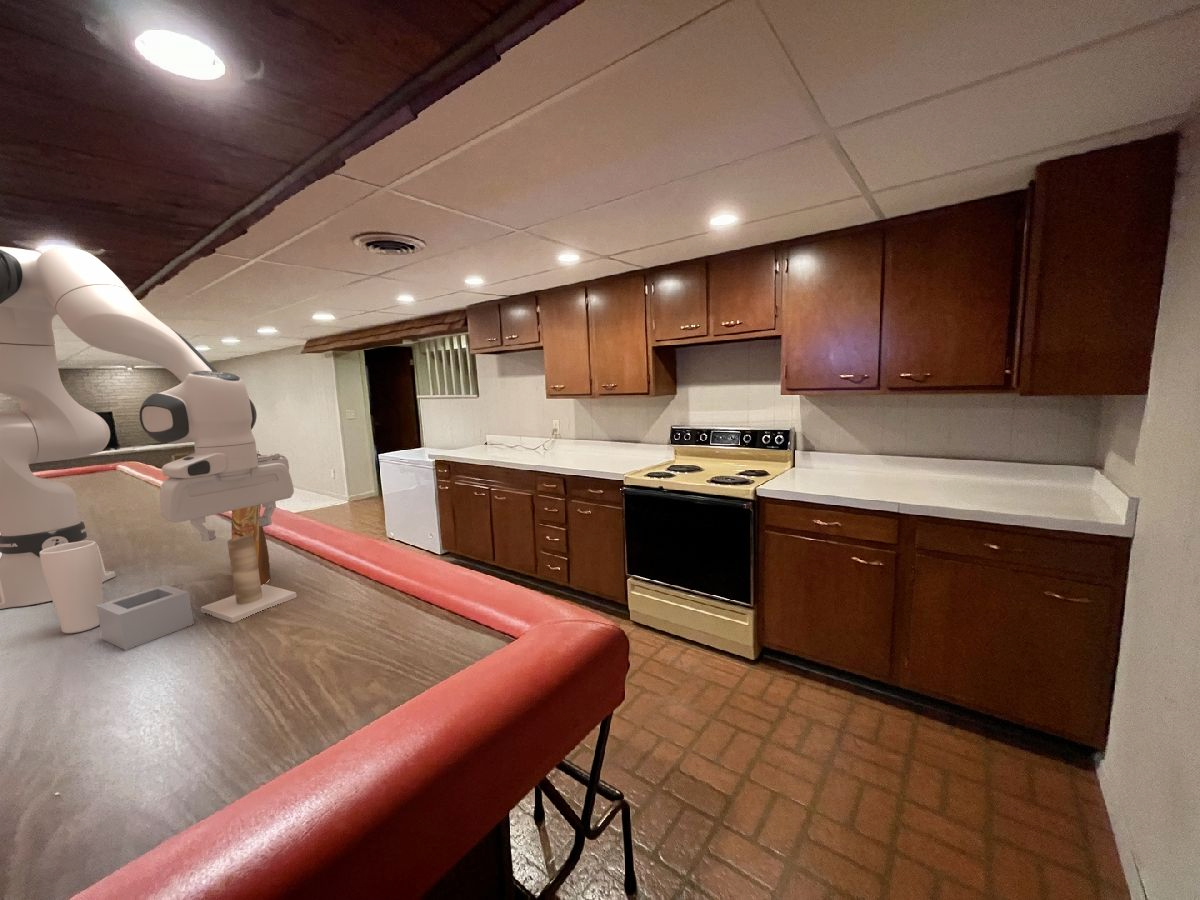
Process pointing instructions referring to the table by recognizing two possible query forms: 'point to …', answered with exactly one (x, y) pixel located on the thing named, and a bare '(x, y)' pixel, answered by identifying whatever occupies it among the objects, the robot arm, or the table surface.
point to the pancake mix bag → (249, 526)
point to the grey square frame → (144, 616)
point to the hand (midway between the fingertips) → (238, 532)
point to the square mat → (236, 612)
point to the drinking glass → (74, 583)
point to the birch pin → (244, 569)
